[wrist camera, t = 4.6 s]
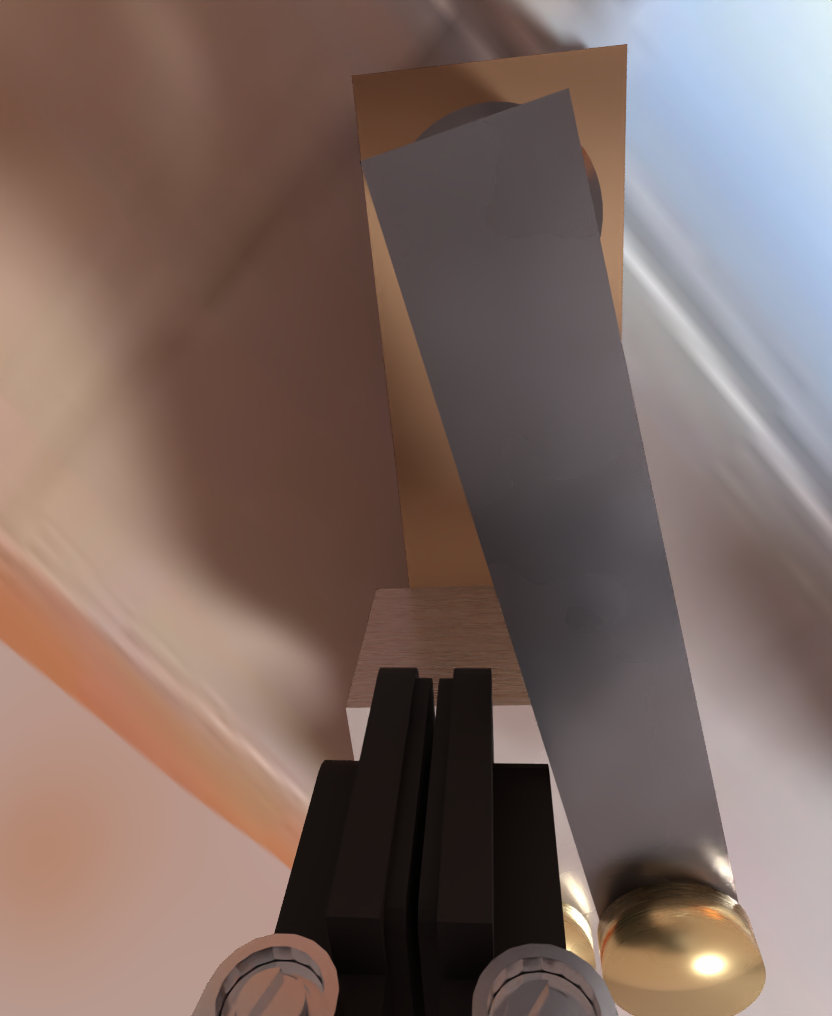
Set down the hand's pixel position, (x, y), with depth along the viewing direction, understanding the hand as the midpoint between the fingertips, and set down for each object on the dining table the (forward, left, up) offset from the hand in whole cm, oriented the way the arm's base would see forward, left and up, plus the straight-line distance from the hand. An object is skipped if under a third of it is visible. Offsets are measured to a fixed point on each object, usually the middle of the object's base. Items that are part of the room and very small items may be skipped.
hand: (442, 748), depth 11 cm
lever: (-3, +2, -6) cm, 7 cm away
